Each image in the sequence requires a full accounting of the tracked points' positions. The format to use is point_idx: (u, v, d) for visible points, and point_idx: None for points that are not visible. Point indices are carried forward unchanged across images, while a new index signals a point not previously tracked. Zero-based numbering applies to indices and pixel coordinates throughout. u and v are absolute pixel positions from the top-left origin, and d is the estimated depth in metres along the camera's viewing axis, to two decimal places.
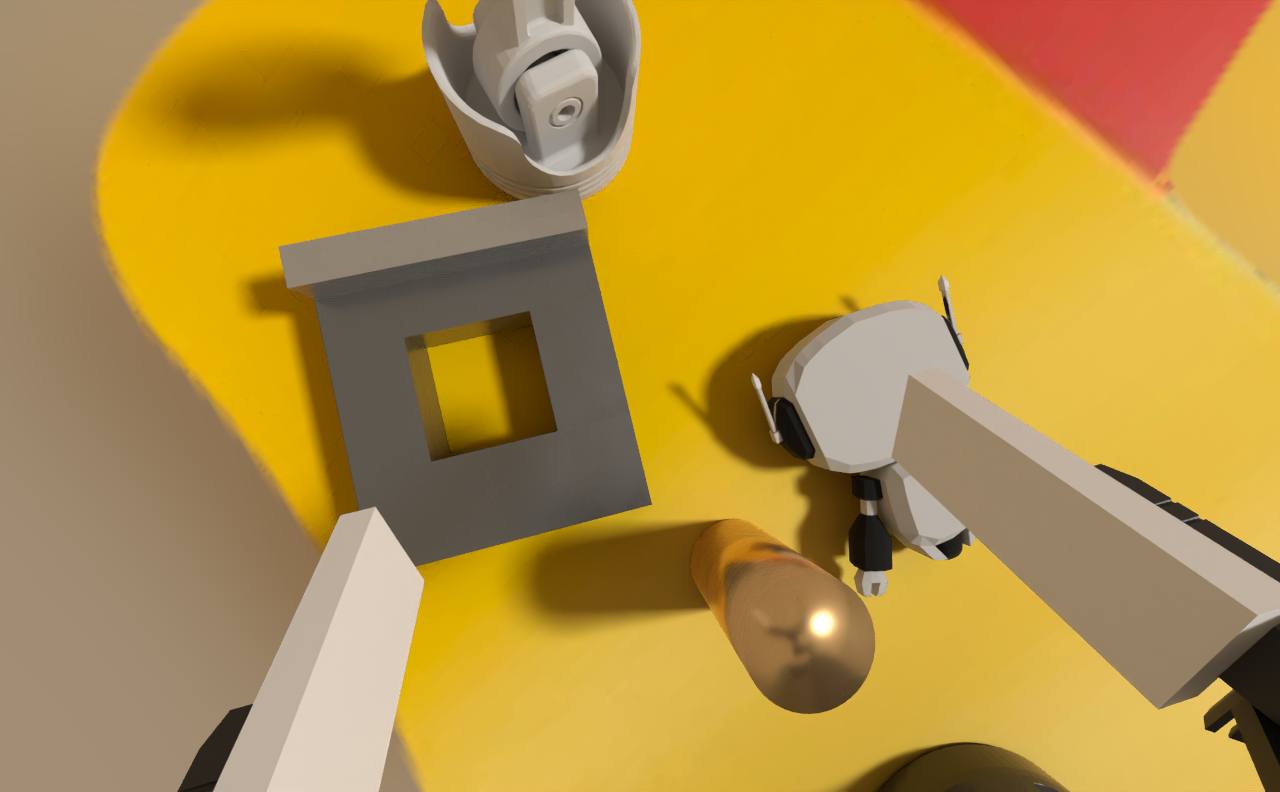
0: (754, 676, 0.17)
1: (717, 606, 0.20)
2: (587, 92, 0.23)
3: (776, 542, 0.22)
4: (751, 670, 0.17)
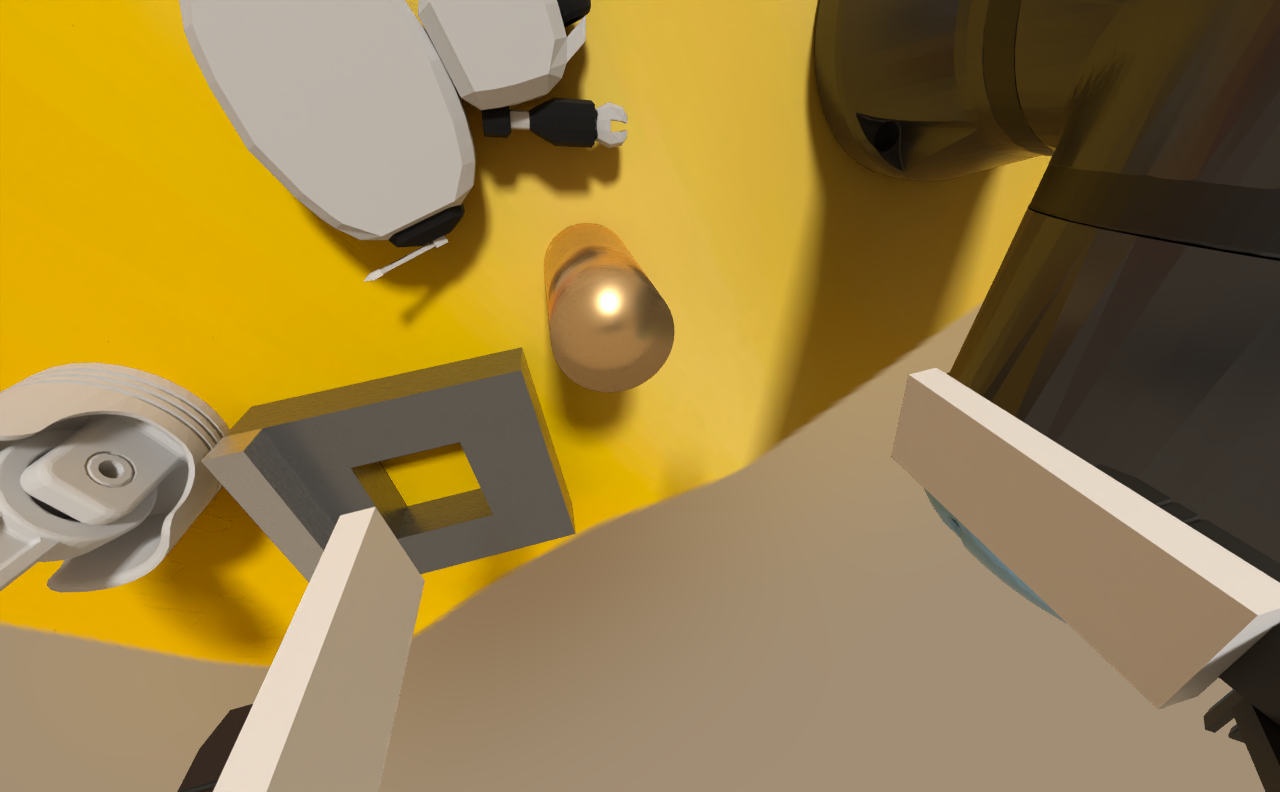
0: (636, 384, 0.20)
1: None
2: (72, 462, 0.21)
3: (548, 283, 0.22)
4: (631, 385, 0.20)
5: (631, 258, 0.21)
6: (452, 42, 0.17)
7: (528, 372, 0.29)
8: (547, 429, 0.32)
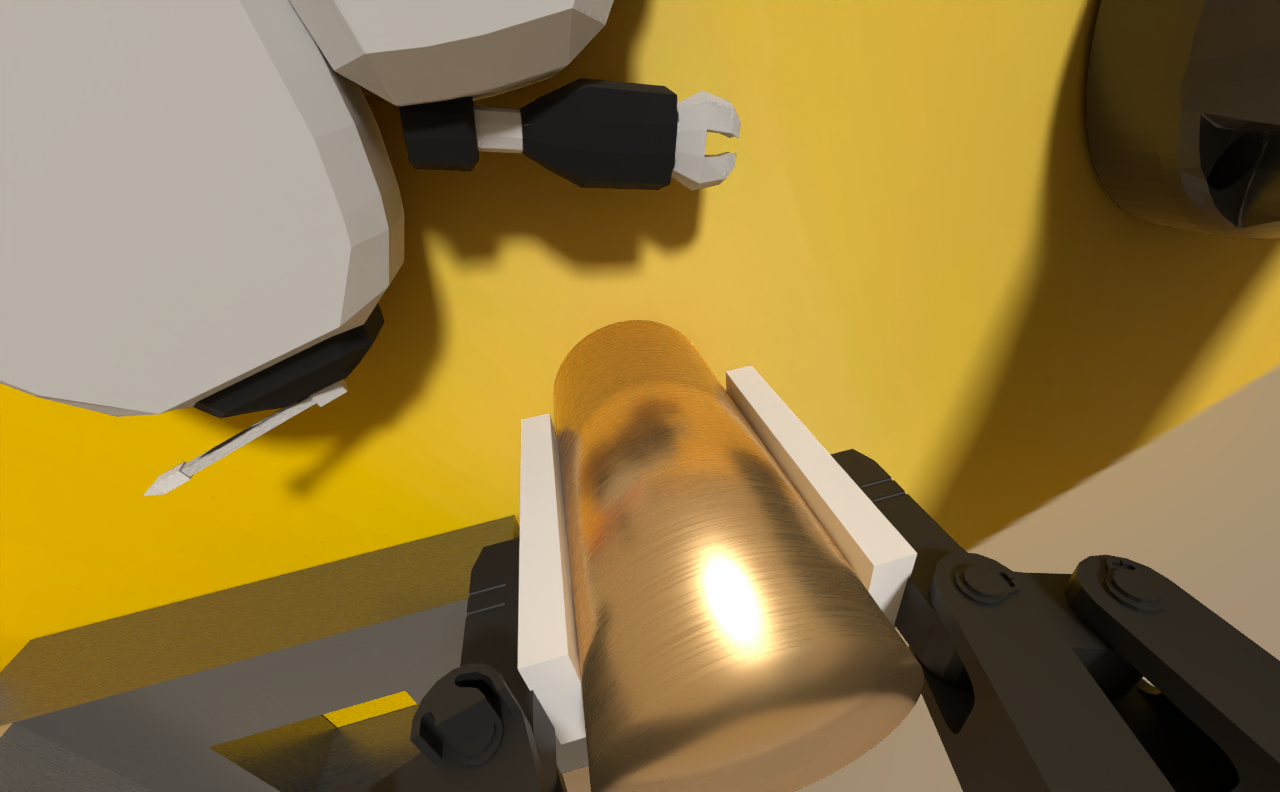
0: (793, 788, 0.08)
1: None
2: None
3: (570, 494, 0.10)
4: (781, 791, 0.08)
5: (754, 440, 0.10)
6: None
7: None
8: None
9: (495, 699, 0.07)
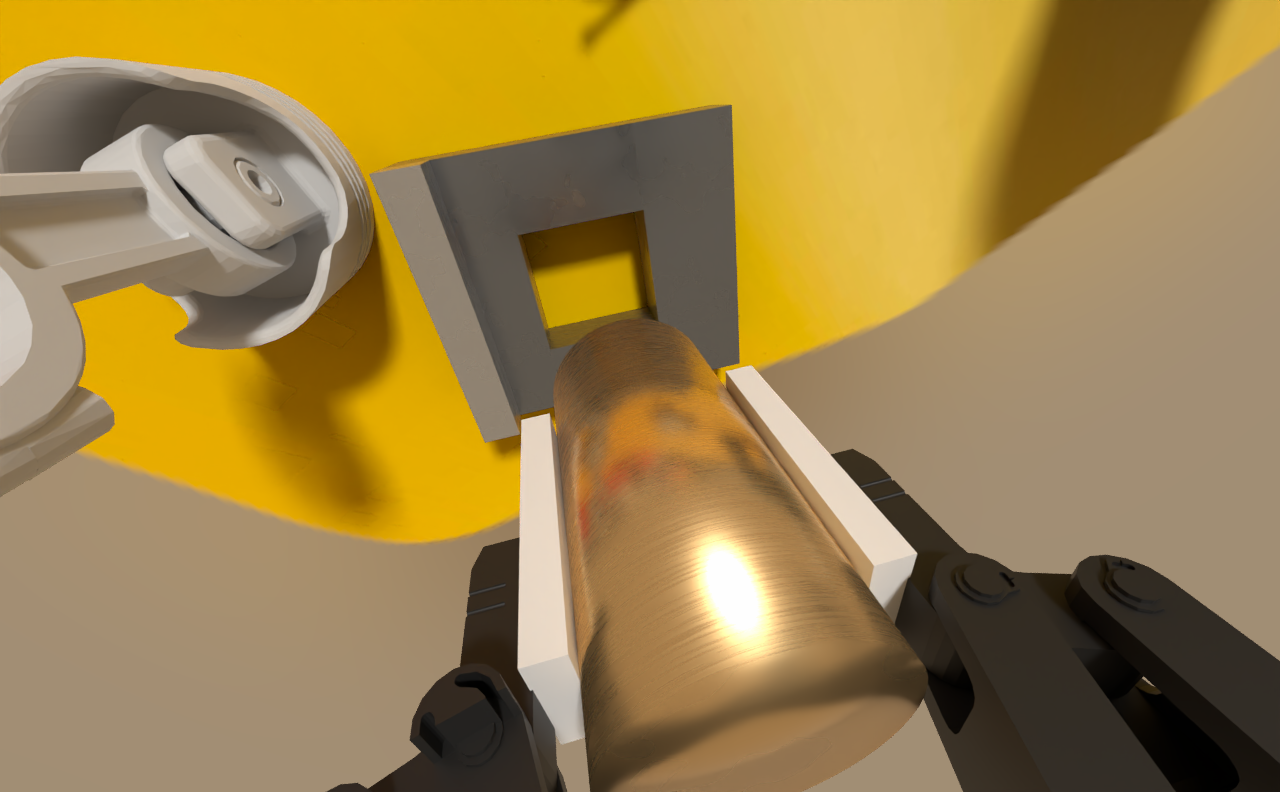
0: (795, 791, 0.08)
1: None
2: (221, 152, 0.17)
3: (569, 493, 0.10)
4: None
5: (755, 438, 0.10)
6: None
7: None
8: None
9: (495, 699, 0.06)
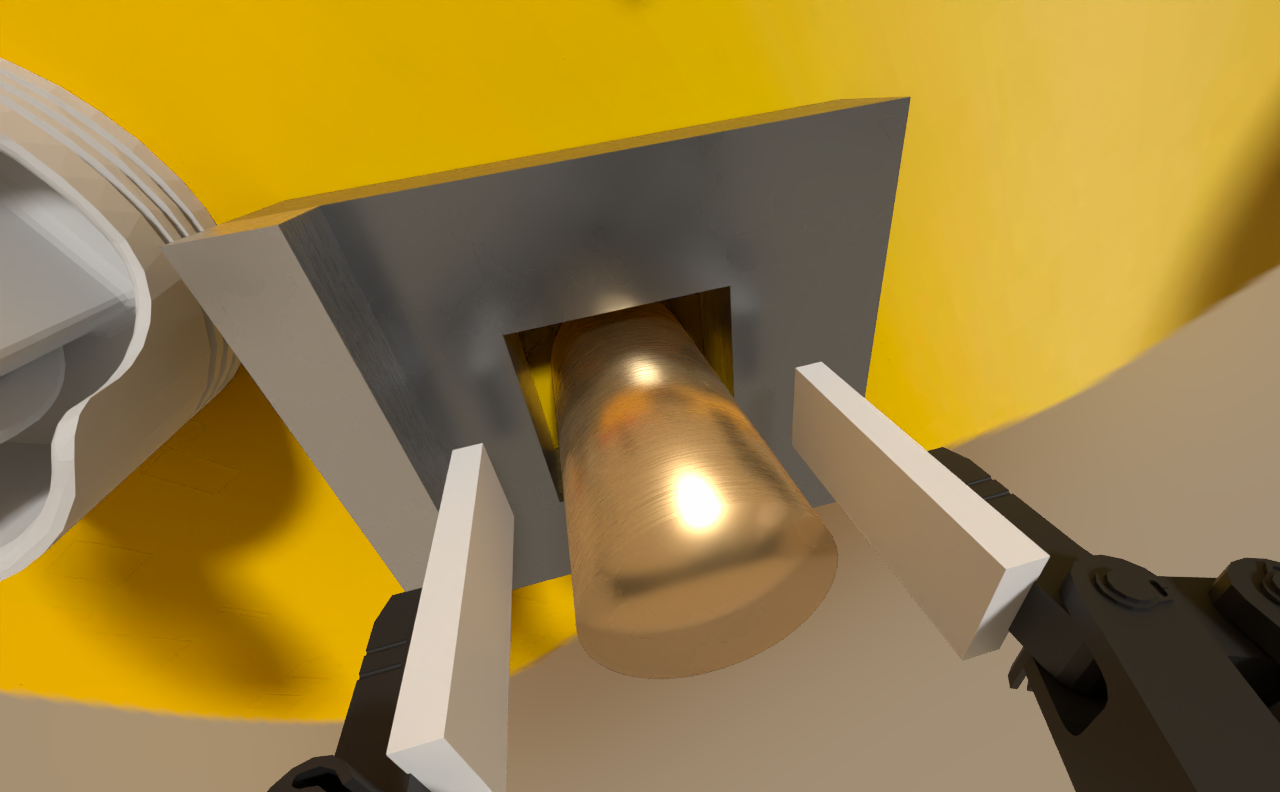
0: (743, 657, 0.10)
1: None
2: None
3: (563, 429, 0.12)
4: (734, 659, 0.10)
5: (718, 383, 0.11)
6: None
7: None
8: None
9: (350, 790, 0.06)
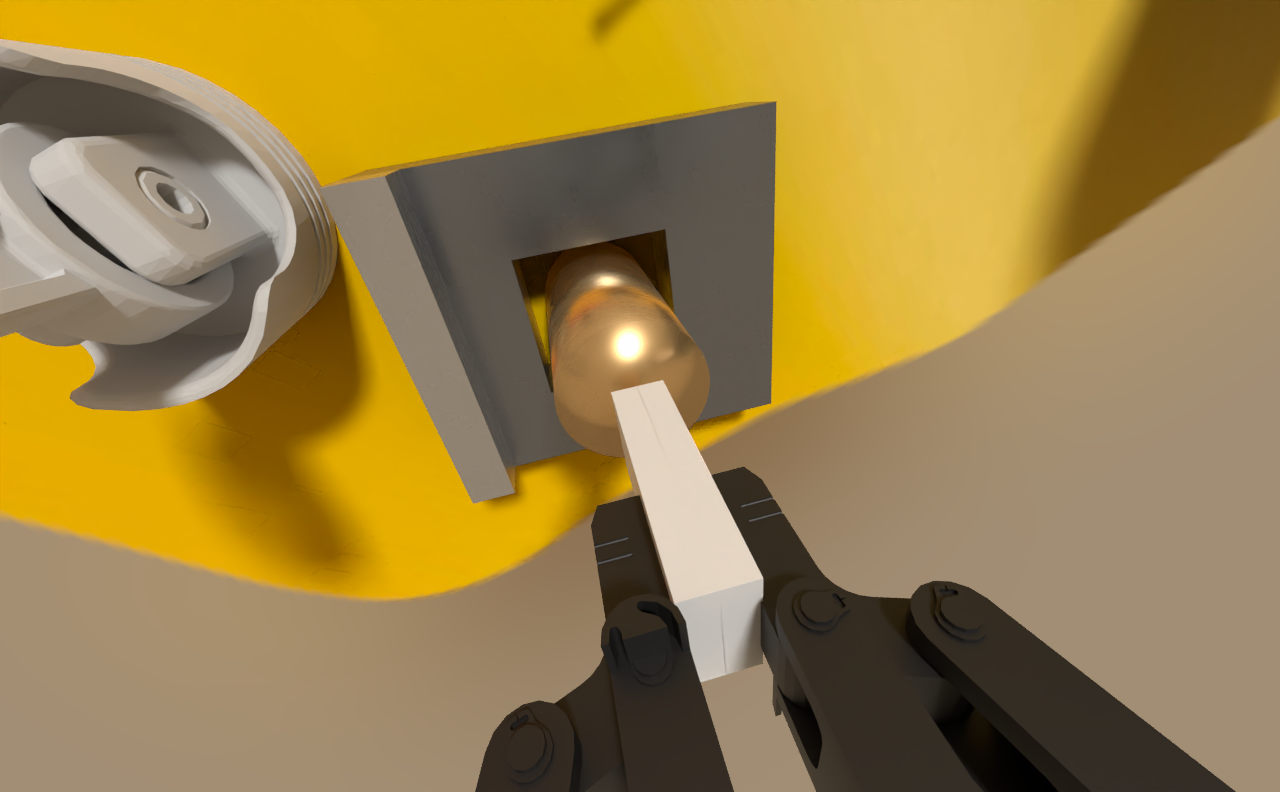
0: None
1: None
2: (115, 160, 0.13)
3: (551, 318, 0.18)
4: None
5: (652, 287, 0.18)
6: None
7: None
8: None
9: None
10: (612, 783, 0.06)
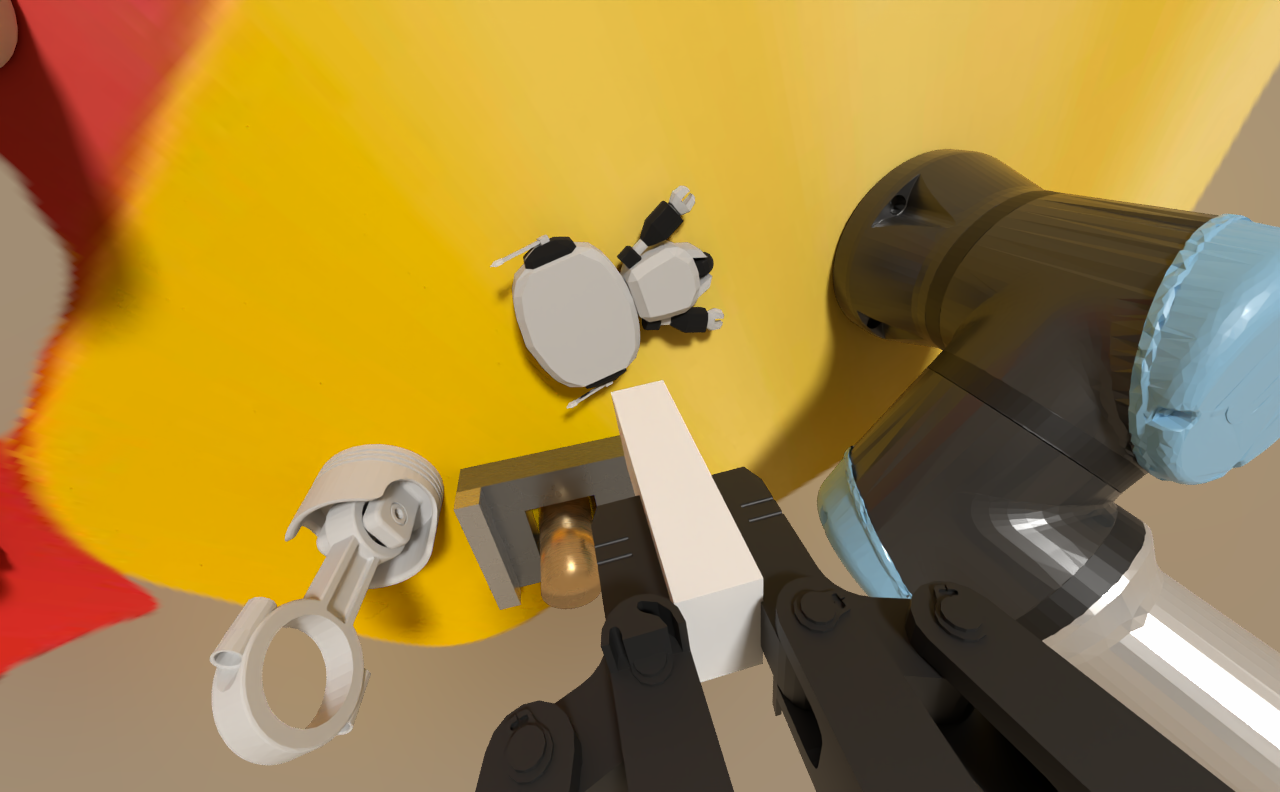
0: (584, 604, 0.39)
1: None
2: (386, 510, 0.35)
3: (541, 540, 0.41)
4: (581, 605, 0.39)
5: (585, 529, 0.41)
6: (644, 296, 0.32)
7: None
8: None
9: None
10: (613, 783, 0.06)
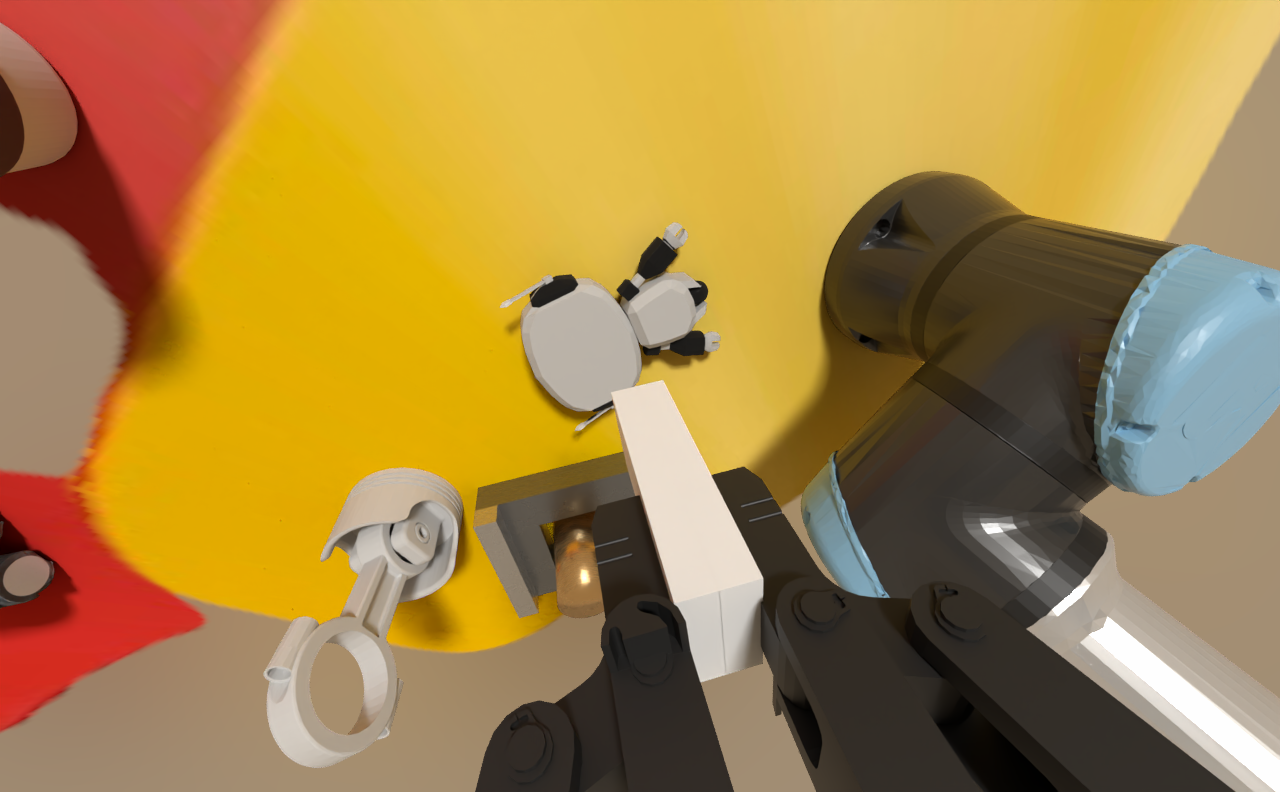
0: (597, 613, 0.41)
1: None
2: (411, 530, 0.38)
3: (555, 553, 0.43)
4: (595, 614, 0.41)
5: None
6: (643, 326, 0.34)
7: None
8: None
9: None
10: (613, 783, 0.06)
